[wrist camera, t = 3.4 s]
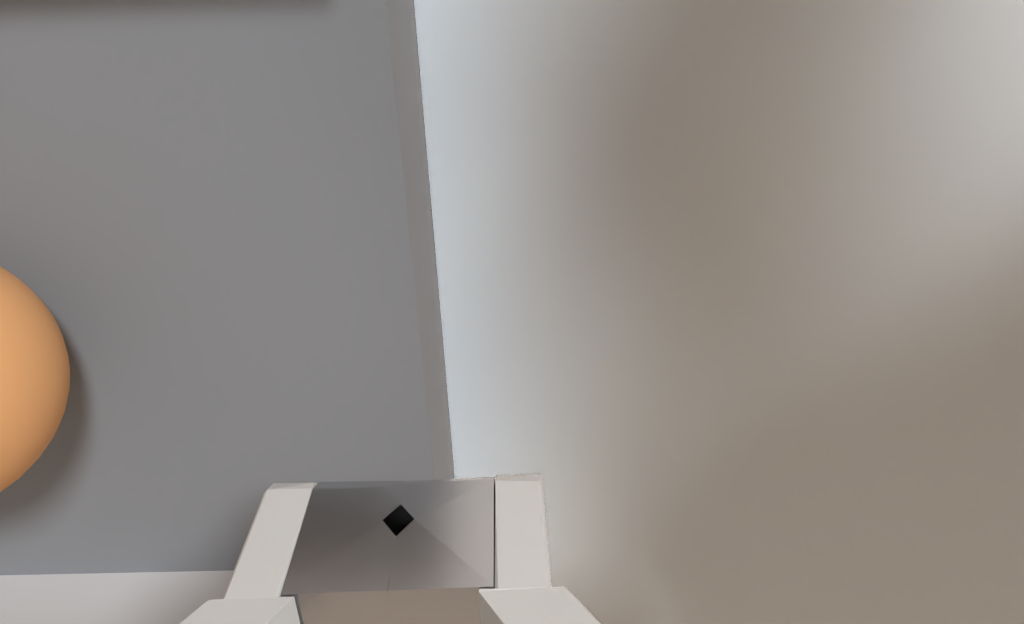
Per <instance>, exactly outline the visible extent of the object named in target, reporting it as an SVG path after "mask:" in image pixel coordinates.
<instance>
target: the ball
mask: <svg viewBox="0 0 1024 624" xmlns="http://www.w3.org/2000/svg"><path fill="white" fill-rule="evenodd" d="M69 390H70V364H69V357H68V352H67V349H66V345H65V342H64V338H63V335H62V333H61V331H60V328H59V326H58V324H57V322H56V320H55V319H54V317H53V315H52V314H51V312H50V311H49V309H48V308H47V307H46V305H45V304H44V303H43V301H42V300H41V299H40V298H39V297H38V296H37V295H36V294H35V293H34V292H33V291H32V290H31V289H30V288H29V287H28V286H27V285H26V284H24V283H23V282H22V281H21V280H20V279H18V278H17V277H16V276H14V275H13V274H11V273H10V272H9V271H7V270H6V269H4V268H2V267H0V492H1V491H3V490H4V489H6V488H7V487H8V486H10V485H11V484H12V483H14V482H15V481H16V480H18V479H19V478H20V477H21V476H22V475H23V474H24V473H25V472H26V471H27V470H28V469H29V468H30V467H31V466H32V465H33V464H34V463H35V462H36V461H37V460H38V459H39V457H40V456H41V455H42V453H43V452H44V450H45V449H46V447H47V446H48V444H49V443H50V441H51V440H52V438H53V437H54V435H55V433H56V431H57V429H58V427H59V424H60V422H61V420H62V417H63V415H64V412H65V408H66V404H67V399H68V394H69Z"/></svg>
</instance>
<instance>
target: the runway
mask: <svg viewBox="0 0 1024 624" xmlns="http://www.w3.org/2000/svg"><path fill="white" fill-rule="evenodd" d="M0 267H2V268H4V269H6V270H7V271H9V272H10V273H11V274H13V275H14V276H16V277H17V278H18V279H20V280H21V281H22V282H23V283H24V284H26V285H27V286H28V287H29V288H30V289H31V290H32V291H33V292H34V293H35V294H36V295H37V296H38V297H39V298H40V299H41V300H42V301H43V303H44V304H45V305H46V307H47V308H48V309H49V311H50V312H51V314H52V315H53V317H54V319H55V320H56V322H57V324H58V326H59V328H60V331H61V333H62V335H63V338H64V342H65V345H66V349H67V352H68V357H69V364H70V390H69V394H68V399H67V404H66V408H65V412H64V415H63V417H62V420H61V422H60V424H59V427H58V429H57V431H56V433H55V435H54V437H53V438H52V440H51V441H50V443H49V444H48V446H47V447H46V449H45V450H44V452H43V453H42V455H41V456H40V457H39V459H38V460H37V461H36V462H35V463H34V464H33V465H32V466H31V467H30V468H29V469H28V470H27V471H26V472H25V473H24V474H23V475H22V476H21V477H20V478H19V479H18V480H16V481H15V482H14V483H12V484H11V485H10V486H8V487H7V488H6V489H4V490H3V491H1V492H0V624H179V623H180V622H182V621H183V620H184V619H185V618H186V617H188V616H189V615H190V614H191V613H193V612H194V611H195V610H196V609H197V608H199V607H200V606H201V605H202V604H204V603H205V602H206V601H207V600H215V599H223V596H224V594H225V591H226V589H227V586H228V584H229V581H230V579H231V576H232V574H233V571H234V568H235V566H236V563H237V561H238V558H239V556H240V553H241V551H242V548H243V546H244V543H245V540H246V538H247V535H248V533H249V530H250V528H251V525H252V523H253V520H254V518H255V515H256V512H257V510H258V507H259V505H260V502H261V500H262V497H263V495H264V493H265V491H266V490H267V489H268V488H269V487H270V486H271V485H272V484H273V483H318V482H342V481H412V480H435V479H454V467H453V455H452V444H451V432H450V420H449V409H448V397H447V385H446V373H445V362H444V350H443V338H442V327H441V315H440V303H439V292H438V280H437V268H436V257H435V245H434V233H433V222H432V210H431V198H430V187H429V175H428V163H427V152H426V140H425V128H424V117H423V105H422V93H421V82H420V70H419V58H418V47H417V35H416V23H415V12H414V0H0Z"/></svg>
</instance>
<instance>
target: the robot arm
mask: <svg viewBox="0 0 1024 624" xmlns="http://www.w3.org/2000/svg"><path fill="white" fill-rule="evenodd" d="M179 624H601V623H600V622H599V621H598V620H597V619H596V618H595V617H594V616H593V615H592V614H591V613H590V611H589V610H588V609H587V608H586V607H585V606H584V605H583V604H582V603H581V602H580V601H579V600H578V599H577V598H576V597H575V595H574V594H573V593H572V592H571V591H570V590H569V589H568V588H567V587H566V586H557V587H552V584H551V573H550V561H549V549H548V538H547V526H546V514H545V503H544V491H543V479H542V477H541V476H540V474H539V473H535V474H518V475H501V476H496V480H495V477H481V478H458V479H435V480H412V481H342V482H318V483H273V484H272V485H271V486H270V487H269V488H268V489H267V490H266V491H265V493H264V495H263V497H262V500H261V502H260V505H259V507H258V510H257V512H256V515H255V518H254V520H253V523H252V525H251V528H250V530H249V533H248V535H247V538H246V540H245V543H244V546H243V548H242V551H241V553H240V556H239V558H238V561H237V563H236V566H235V568H234V571H233V574H232V576H231V579H230V581H229V584H228V586H227V589H226V591H225V594H224V596H223V599H215V600H207V601H206V602H205V603H204V604H202V605H201V606H200V607H199V608H197V609H196V610H195V611H194V612H193V613H191V614H190V615H189V616H188V617H186V618H185V619H184V620H183V621H182V622H180V623H179Z"/></svg>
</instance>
